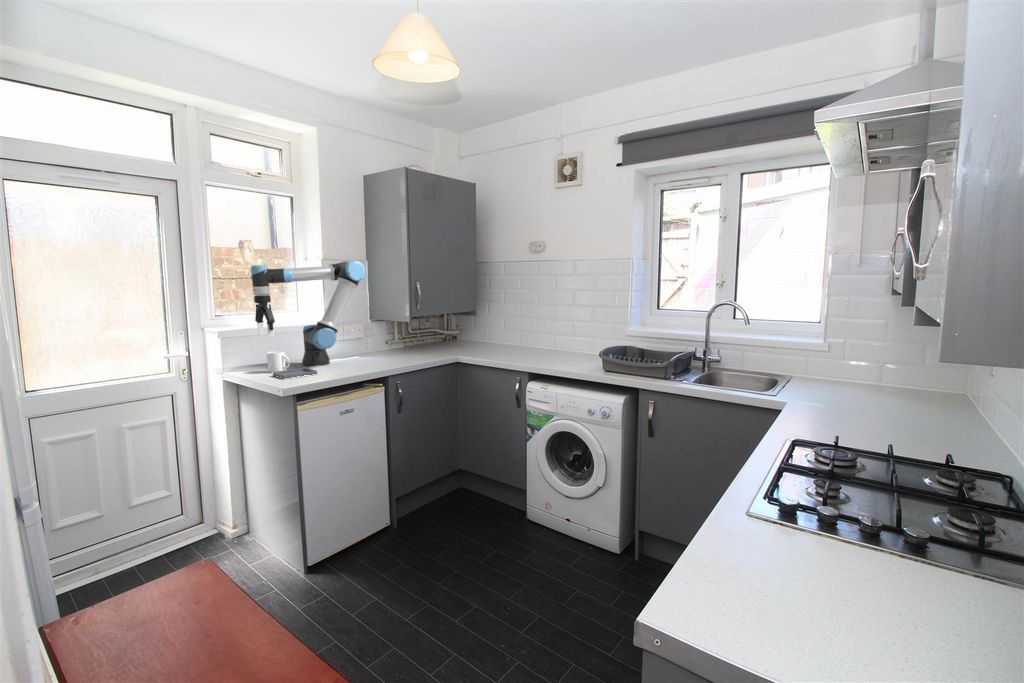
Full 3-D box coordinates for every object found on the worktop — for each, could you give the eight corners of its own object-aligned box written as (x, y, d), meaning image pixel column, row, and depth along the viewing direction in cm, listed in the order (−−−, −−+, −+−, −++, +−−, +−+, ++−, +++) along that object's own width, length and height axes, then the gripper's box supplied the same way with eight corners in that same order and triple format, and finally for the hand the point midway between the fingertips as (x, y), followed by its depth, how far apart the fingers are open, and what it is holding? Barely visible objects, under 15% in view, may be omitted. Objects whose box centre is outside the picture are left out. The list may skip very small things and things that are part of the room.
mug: (285, 373, 254) (283, 353, 253) (264, 373, 256) (262, 353, 254) (294, 370, 262) (293, 350, 261) (274, 370, 264) (273, 350, 263)
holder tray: (305, 371, 258) (305, 367, 258) (317, 374, 248) (317, 370, 248) (273, 375, 246) (272, 372, 246) (284, 379, 236) (284, 375, 236)
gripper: (245, 295, 255) (250, 335, 257) (263, 295, 238) (268, 337, 241) (260, 294, 260) (264, 333, 263) (279, 294, 243) (283, 336, 246)
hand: (266, 335), depth 252 cm, fingers open, 13 cm apart
